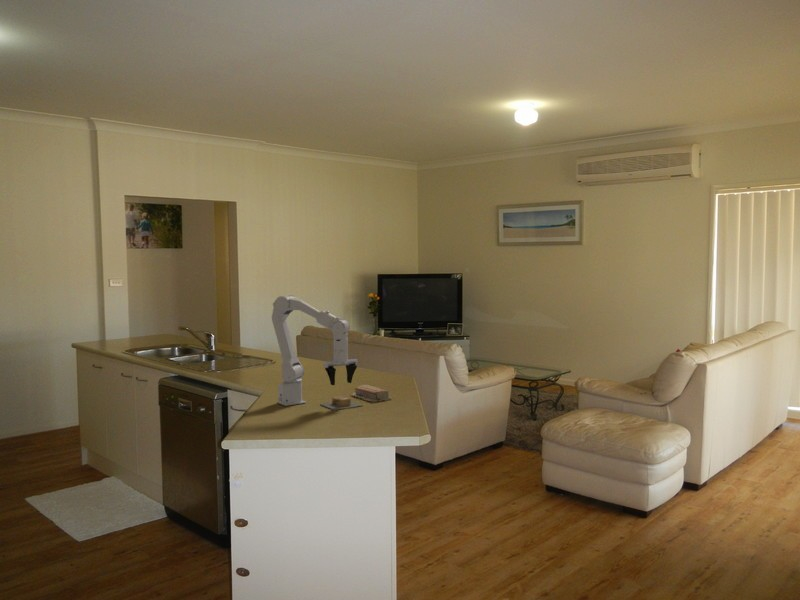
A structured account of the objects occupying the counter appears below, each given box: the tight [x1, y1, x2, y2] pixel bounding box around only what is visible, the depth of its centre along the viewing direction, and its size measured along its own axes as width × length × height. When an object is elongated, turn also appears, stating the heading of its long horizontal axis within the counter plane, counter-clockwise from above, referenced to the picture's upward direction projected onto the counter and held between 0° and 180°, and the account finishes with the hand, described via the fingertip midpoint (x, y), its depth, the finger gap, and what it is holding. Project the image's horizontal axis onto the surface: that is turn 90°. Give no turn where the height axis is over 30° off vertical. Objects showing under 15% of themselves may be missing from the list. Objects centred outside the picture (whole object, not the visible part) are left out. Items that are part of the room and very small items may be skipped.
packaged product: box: [349, 384, 393, 403], centre depth 277 cm, size 18×5×10 cm
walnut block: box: [331, 395, 351, 407], centre depth 262 cm, size 7×4×3 cm, turn 35°
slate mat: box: [319, 401, 364, 411], centre depth 262 cm, size 13×12×1 cm
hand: (341, 383), depth 261 cm, fingers open, 7 cm apart
